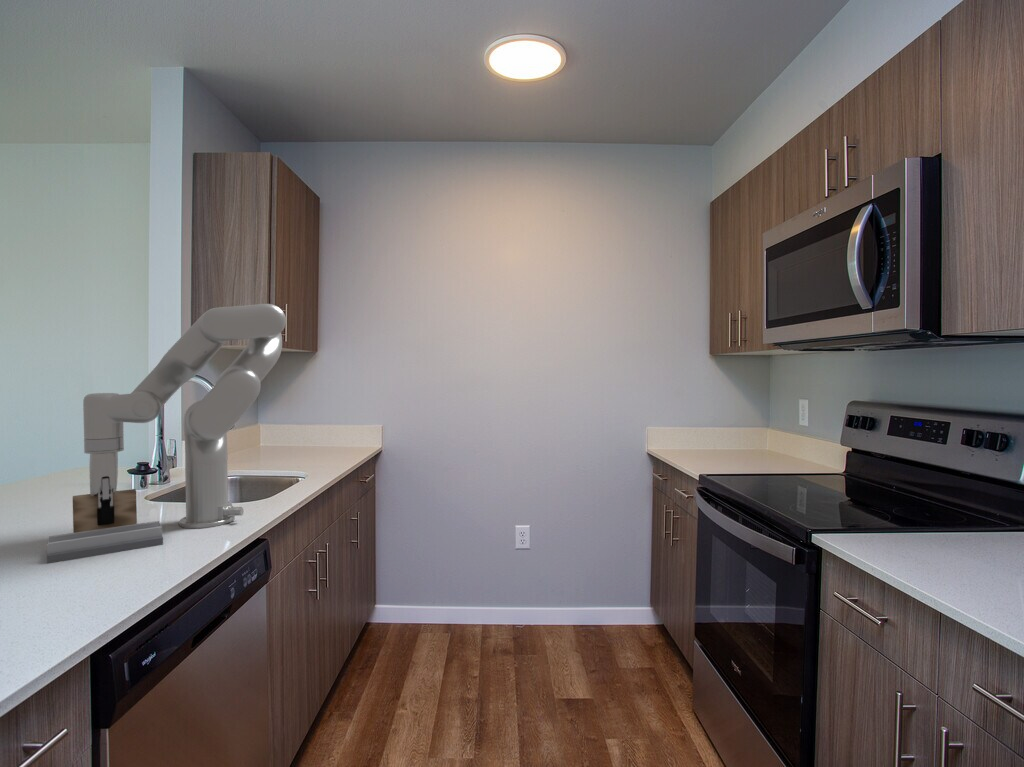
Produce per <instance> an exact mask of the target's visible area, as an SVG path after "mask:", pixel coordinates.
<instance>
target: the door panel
mask: <svg viewBox="0 0 1024 767" xmlns="http://www.w3.org/2000/svg"><path fill="white" fill-rule="evenodd" d="M109 494H111V492H109ZM100 495H102V493H100ZM102 498H103V497H102ZM113 506H114V523H113V524H108V525H101V526H98V525H97V508H98V494H95V495H94V496H93V497H92V496H91V495H90V493H89V494H88V493H87V494H79V495H72V526H73V528H72V533H77V532H84V531H91V530H98V529H105V528H112V527H119V526H126V525H133V524H138V517H137V516H138V515H137V513H138V512H137V490H136V488H131V489H122V490H116V493H115V494H113Z"/></svg>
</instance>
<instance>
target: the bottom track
mask: <svg viewBox="0 0 1024 767" xmlns="http://www.w3.org/2000/svg"><path fill="white" fill-rule="evenodd" d="M160 523H161V522H160V521H159V520H156V521H155V520H154V521H148V522H147V521H146V522H142V523H141V522H140V523H137V524H133V525H126V526H119V527H112V528H105V529H98V530H91V531H84V532H77V533H73V532H71V533H62V534H58V535H57V534H56V535H49V536H48V542H47V545H46V546H47V547H46V548H47V551H46V552H47V553H46V564H51V563H57V562H64V561H69V560H75V559H81V558H82V559H83V558H88V557H93V556H94V557H95V556H101V555H105V554H111V553H119V552H123V551H131V550H136V549H141V548H143V549H144V548H148V547H149V548H150V547H153V546H154V547H156V546H161V545H164V537H163V526H162V525H160Z"/></svg>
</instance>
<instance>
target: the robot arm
mask: <svg viewBox="0 0 1024 767" xmlns="http://www.w3.org/2000/svg"><path fill="white" fill-rule="evenodd" d="M286 325H287V318H286V314H285V312H284V311H283V310H282V309H281V308H280V307H279V306H277V305H275V304H271V303H257V304H248V305H247V304H245V305H235V306H221V307H213V308H210V309H208V310H206V311H205V312H204V313H202V315H200V317H198V318H197V319H196V321H195V322H194V323H193V324H192V325H191V326H190V327H189V328H188V329H187V330H186V331H185V332H184V334H183V335H181V337H179V339H177V341H176V342H175V343H174V344H173V345H172V346H171V347H170V348H169V349H168V351H167V352H166V353H165V354H164V355H163V356H162V358H161V359H160V361H159V362H158V363H157V365H156V366H155V367H154V368H153V369H152V370H151V371H150V373H149V374H148V375H147V376H146V377H145V378H144V379H143V380H142V381H141V382H140V383H139V384H138V385H137V387H135V388H134V390H133V391H132V392H130V393H123V394H119V393H117V392H116V393H115V392H97V393H89V394H87V395H85V396H84V397H83V403H82V404H83V408H82V409H83V438H84V439H83V448H84V449H83V451H84V454H89V494H90V495H91V496H92V497H93V496H94V495H95V494H98V508H97V525H98V526H101V525H108V524H113V523H114V506H113V494H115V493H116V491H117V487H118V475H119V474H118V473H119V469H118V467H119V459H118V456H119V452H122V451H124V450H125V449H124V448H125V446H124V444H125V440H124V436H125V435H124V423H132V424H146V423H150V422H152V421H155V419H157V418H158V417H159V415H160V413H161V412H162V407H163V406H164V405H165V404H166V403H168V401H169V400H170V399H171V397H172V396H173V395H175V393H176V392H178V390H179V389H180V388H181V387H182V386H183V385H185V384H186V383H187V382H188V381H190V380H192V379H193V378H194V377H196V376H197V375H198V374H199V372H201V371H202V370H203V369H204V367H206V365H207V364H208V363H209V362H210V361H211V359H212V358H213V357H215V355H217V354H216V353H218V351H219V350H221V348H222V347H223V346H224V345H225V344H226V343H227V341H238V340H239V341H240V340H248V343H247V345H246V346H245V348H244V349H243V350H242V351H241V352H240V353H239V354H238V355H237V357H236V358H235V359H234V360H233V361H232V362H231V363H230V364H229V365H228V367H227V368H226V369H225V370H223V371H222V372H221V373H220V374H219V375H218V377H217V378H216V381H215V384H214V386H213V387H212V388H211V389H210V390H209V391H208V392H207V394H206V395H205V396H204V397H203V398H202V399H200V400H197V401H195V402H193V403H192V404H191V405H189V406H188V407H187V409H186V411H184V412H185V413H184V416H183V433H184V452H185V454H184V456H185V457H184V458H185V463H184V466H185V469H184V470H185V516H184V517H182V518H180V519H179V521H178V525H179V527H182V528H183V529H204V528H205V529H206V527H207V528H213V526H214V527H218V526H219V527H220V526H223V525H225V524H229V523H231V522H233V521H234V520H235V517H237V516H240V517H241V516H243V515H244V510H245V509H244V508H243V507H242V506H233V501H229V498H228V497H229V495H228V494H229V492H228V491H229V490H228V489H229V484H228V483H229V482H228V479H229V478H228V440H227V433H228V432H229V431H230V430H232V428H233V427H234V426H235V425H236V424H237V422H238V421H239V420H240V419H241V418H242V417H243V415H244V414H245V413H246V412H247V411H248V410H249V408H250V407H251V406H252V405H253V403H254V402H256V400H257V398H258V396H259V395H260V392H261V387H262V386H261V383H262V381H263V380H264V378H265V377H266V376H267V375H268V374H269V373H270V372H271V370H272V369H273V367H274V366H276V363H277V362H278V360H279V358H280V356H281V353H282V349H283V337H282V336H283V335H282V332H283V331H284V329H285V328H286ZM109 492H111V494H109ZM100 493H102V495H100ZM102 497H103V498H102Z"/></svg>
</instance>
